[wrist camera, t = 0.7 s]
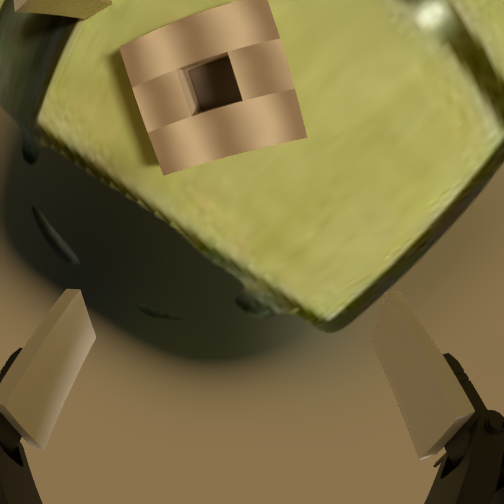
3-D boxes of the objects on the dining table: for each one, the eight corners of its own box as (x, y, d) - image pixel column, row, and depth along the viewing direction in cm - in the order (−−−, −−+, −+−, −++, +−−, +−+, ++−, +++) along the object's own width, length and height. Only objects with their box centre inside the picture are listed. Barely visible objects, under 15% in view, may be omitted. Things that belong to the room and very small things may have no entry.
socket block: (266, 4, 22) (265, -6, 18) (303, 130, 28) (307, 137, 25) (136, 49, 24) (119, 47, 21) (175, 164, 31) (163, 175, 28)
